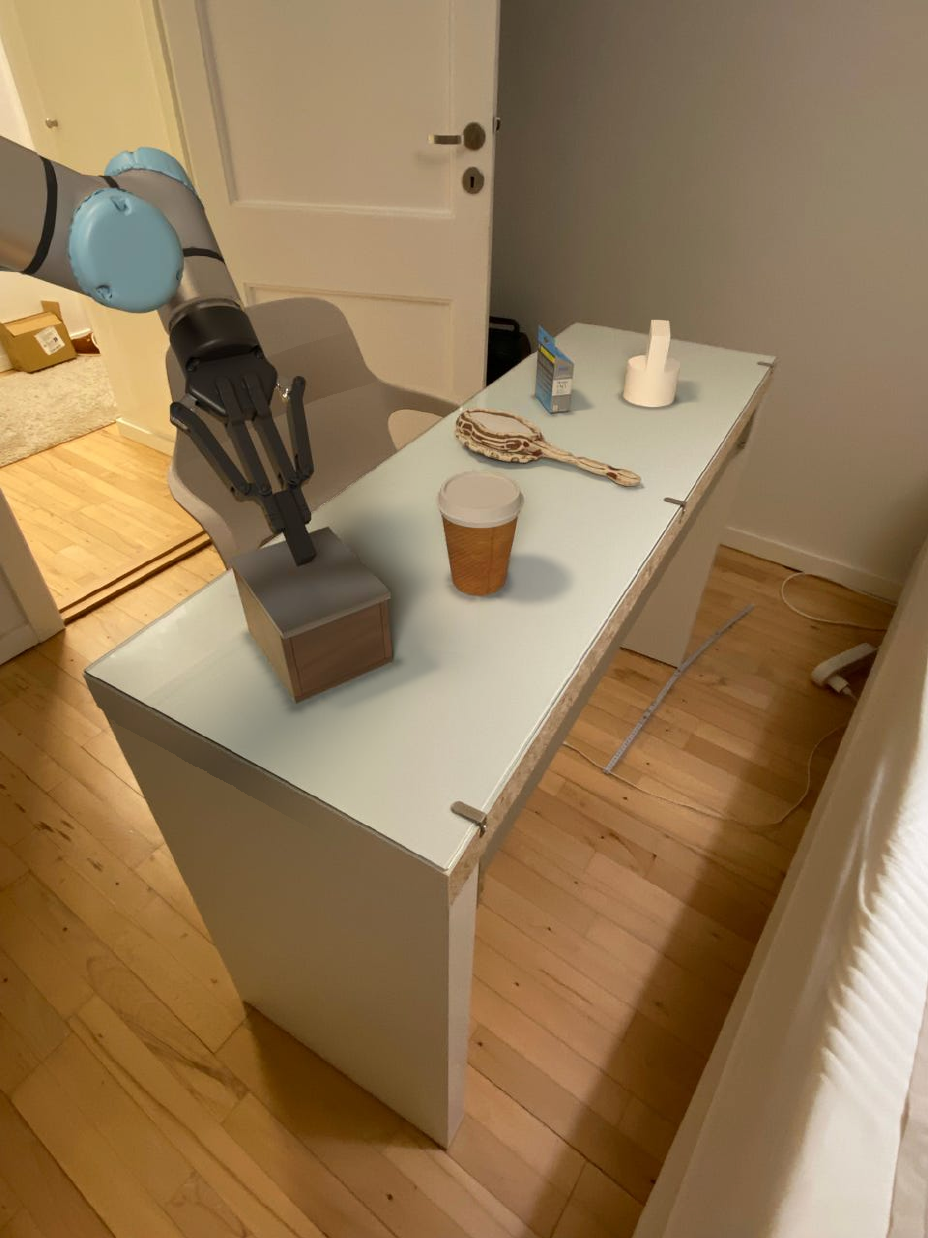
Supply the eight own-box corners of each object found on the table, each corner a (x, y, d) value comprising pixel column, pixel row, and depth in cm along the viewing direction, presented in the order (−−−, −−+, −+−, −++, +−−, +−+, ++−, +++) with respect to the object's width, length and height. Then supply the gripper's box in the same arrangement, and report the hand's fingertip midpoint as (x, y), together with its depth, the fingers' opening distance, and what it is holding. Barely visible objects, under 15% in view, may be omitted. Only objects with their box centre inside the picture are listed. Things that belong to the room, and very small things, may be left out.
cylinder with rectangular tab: (623, 385, 127) (633, 318, 119) (673, 389, 126) (686, 321, 118) (622, 404, 120) (633, 334, 113) (674, 408, 119) (689, 337, 111)
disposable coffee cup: (445, 554, 84) (443, 465, 77) (522, 559, 83) (527, 471, 76) (431, 600, 77) (428, 508, 70) (515, 608, 76) (521, 515, 69)
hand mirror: (628, 490, 92) (439, 423, 101) (621, 521, 96) (441, 455, 106) (657, 445, 97) (474, 386, 107) (649, 476, 102) (475, 417, 111)
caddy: (393, 661, 70) (386, 593, 64) (295, 704, 65) (279, 634, 59) (339, 598, 78) (329, 533, 72) (249, 632, 73) (231, 565, 67)
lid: (391, 598, 63) (390, 591, 63) (283, 640, 59) (282, 633, 58) (329, 532, 72) (328, 526, 71) (231, 564, 67) (229, 558, 67)
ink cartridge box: (570, 412, 118) (577, 338, 110) (549, 414, 117) (555, 340, 109) (553, 392, 124) (559, 322, 117) (533, 394, 124) (537, 323, 116)
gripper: (270, 335, 69) (360, 549, 69) (136, 359, 63) (234, 592, 63) (280, 290, 62) (381, 528, 62) (132, 313, 57) (242, 574, 57)
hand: (307, 560), depth 63 cm, fingers closed
